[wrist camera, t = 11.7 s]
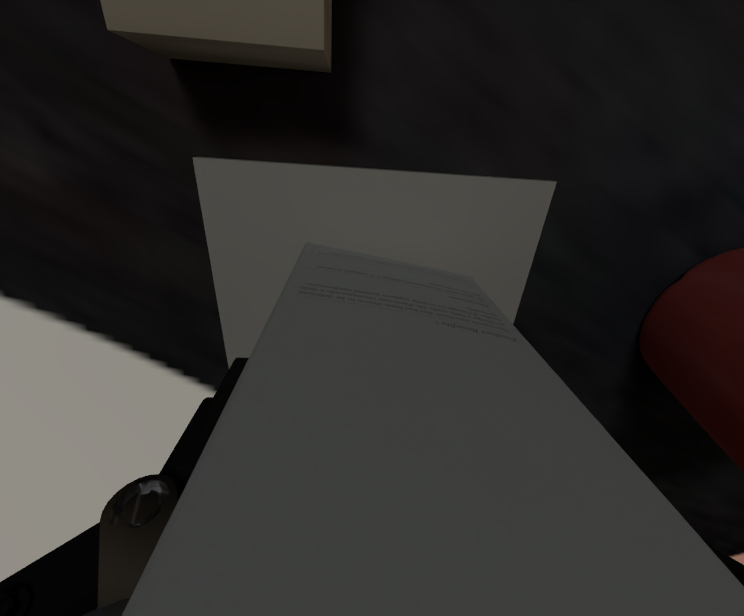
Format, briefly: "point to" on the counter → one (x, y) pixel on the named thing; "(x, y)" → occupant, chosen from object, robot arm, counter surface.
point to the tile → (359, 229)
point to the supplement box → (416, 473)
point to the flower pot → (703, 347)
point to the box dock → (229, 30)
